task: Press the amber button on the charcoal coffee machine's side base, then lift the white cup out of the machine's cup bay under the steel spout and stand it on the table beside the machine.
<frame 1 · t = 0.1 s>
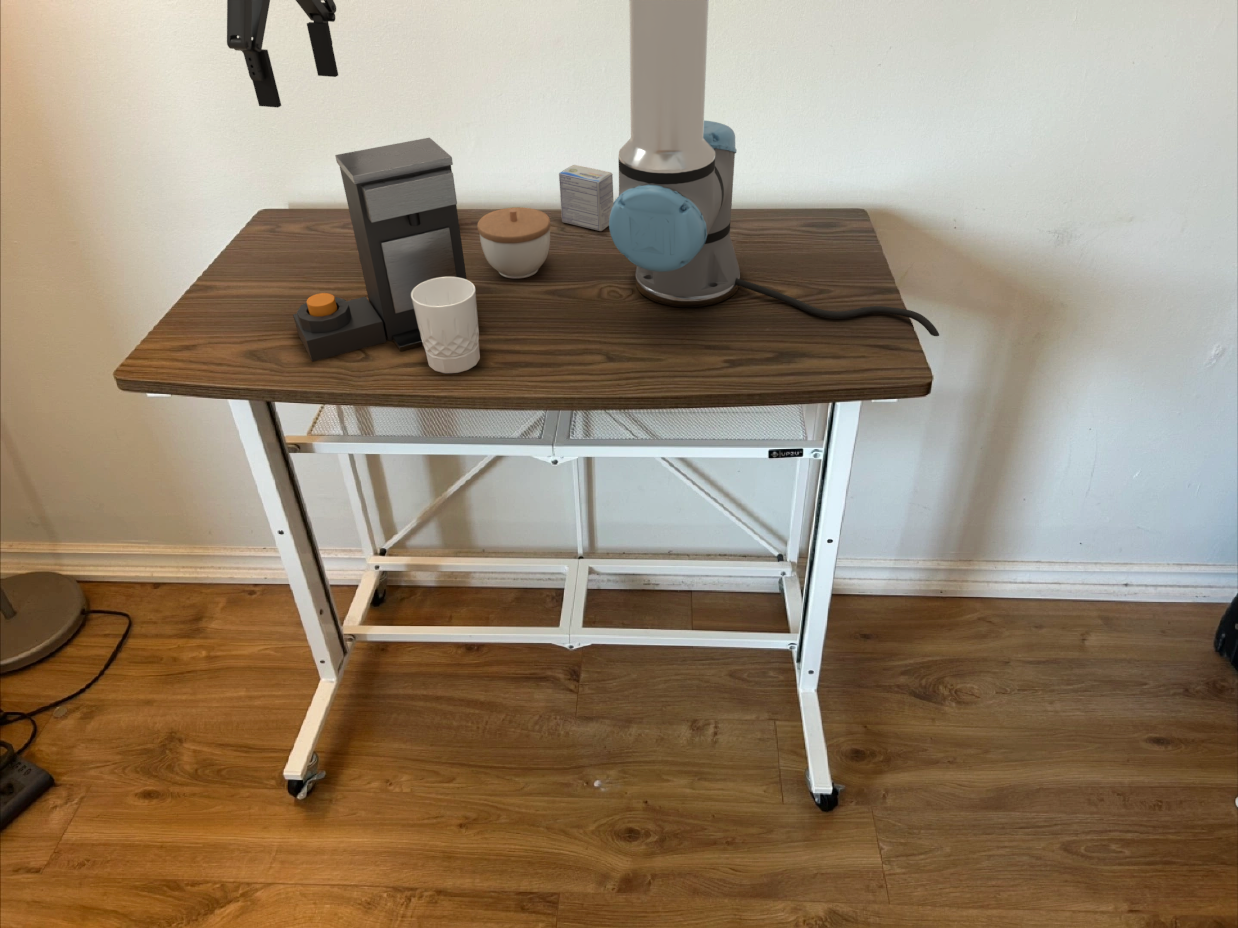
hand: (300, 90, 115), 28 cm above the table, tool pointing down, fingers open, 13 cm apart
coffee machine: (422, 317, 125), on the table
button base: (342, 338, 121), on the table
white cup: (454, 361, 116), on the table
medicine box: (588, 224, 149), on the table
trinket box: (518, 270, 136), on the table
start button: (322, 305, 117), point 5 cm above the table, slide at 0.1 cm
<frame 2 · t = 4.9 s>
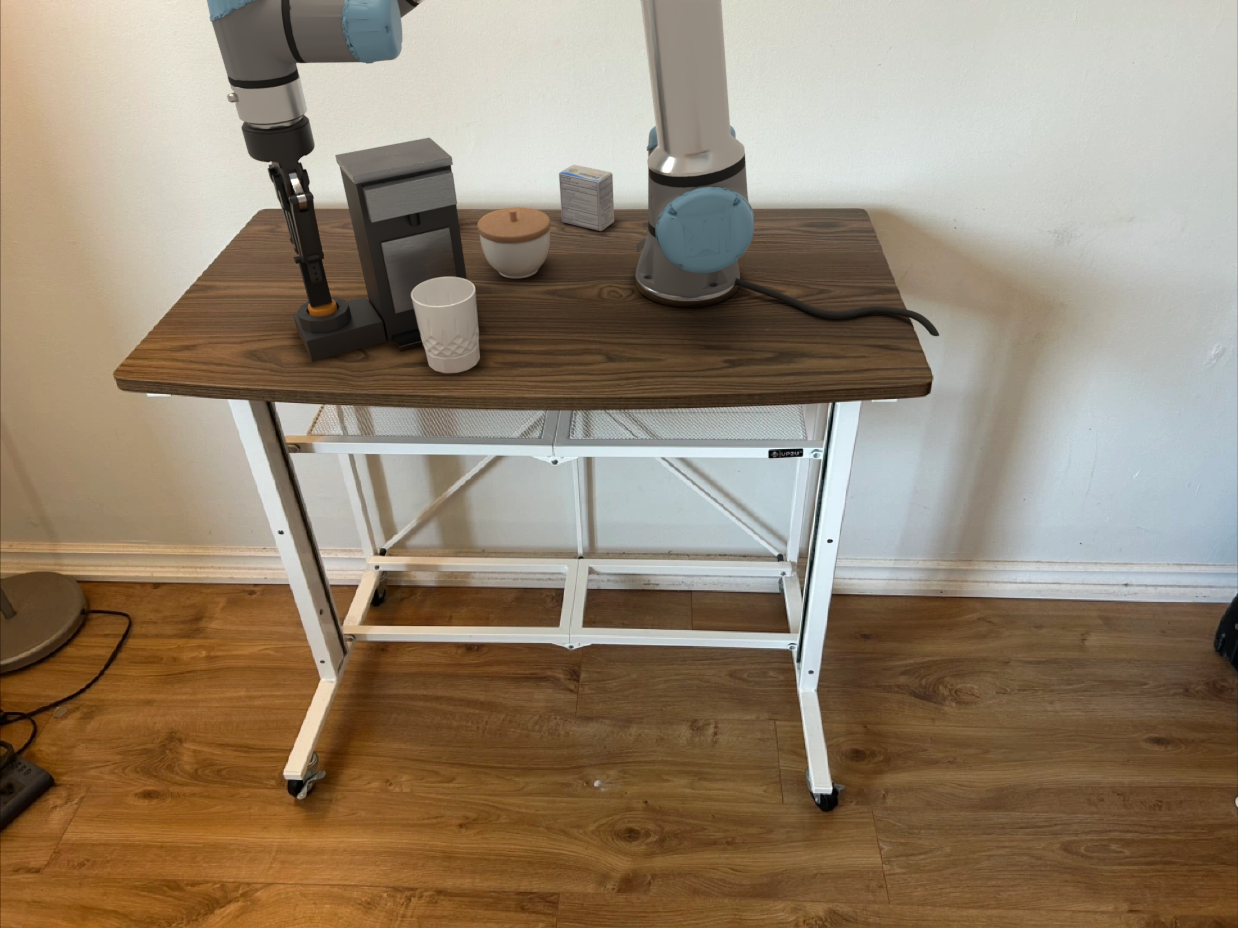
hand: (320, 302, 117), 6 cm above the table, tool pointing down, fingers closed
start button: (323, 310, 117), point 5 cm above the table, slide at -0.6 cm, touching gripper
everything else where it was.
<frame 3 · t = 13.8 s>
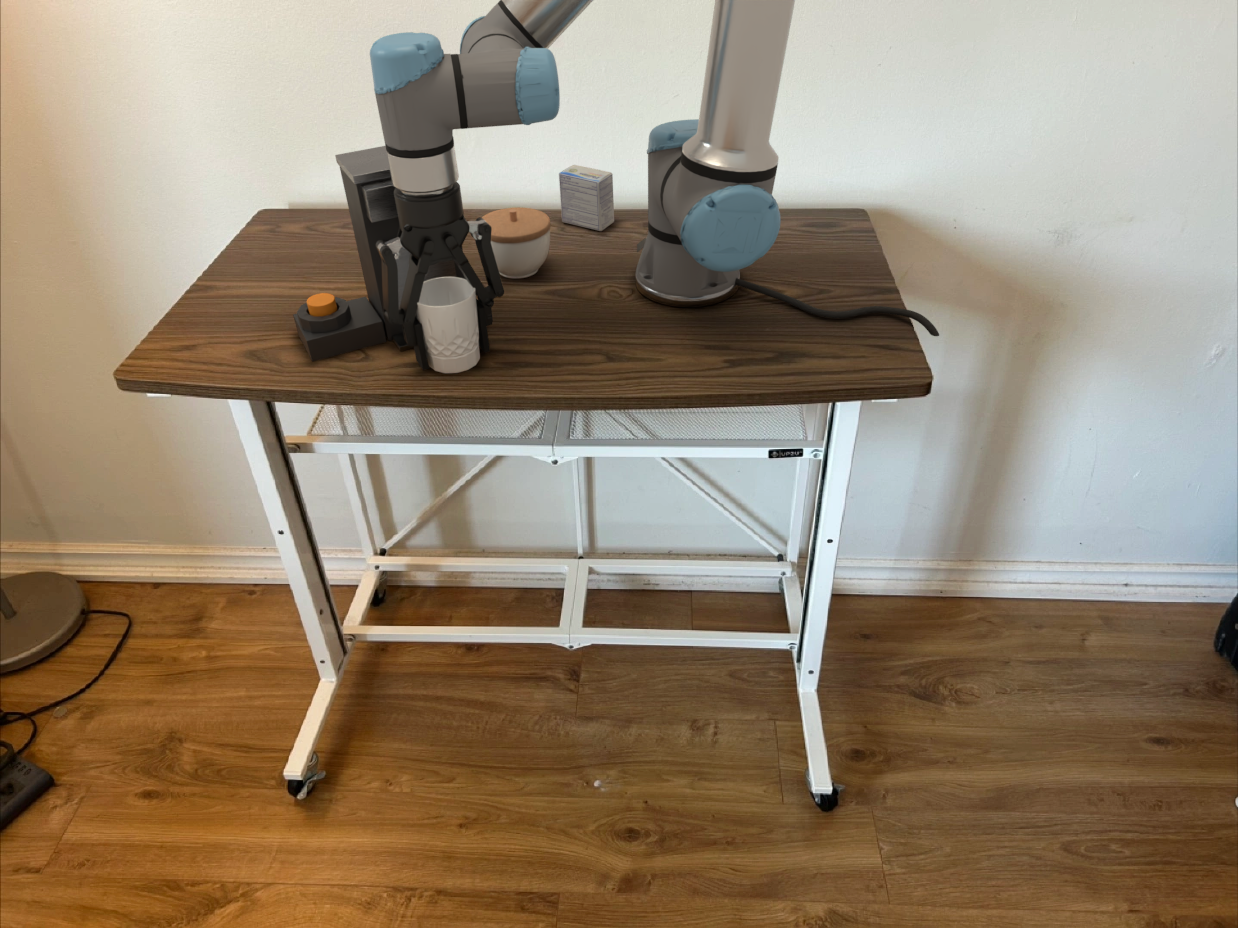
hand: (453, 355, 115), 1 cm above the table, tool pointing down, fingers closed on white cup, 8 cm apart
white cup: (454, 361, 116), on the table, touching gripper
start button: (322, 305, 117), point 5 cm above the table, slide at 0.1 cm
everything else where it was.
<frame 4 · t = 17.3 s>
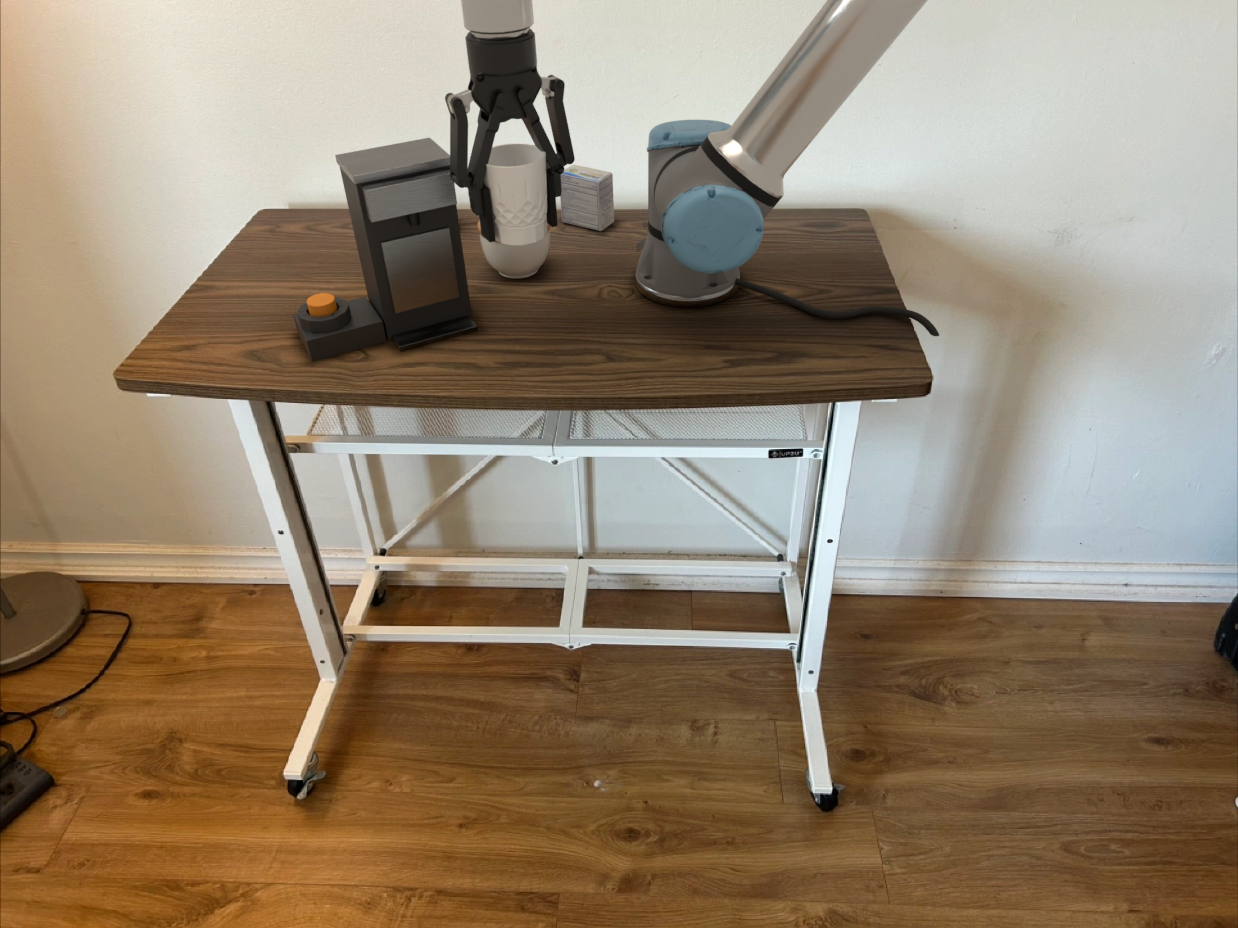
hand: (519, 229, 110), 16 cm above the table, tool pointing down, fingers closed on white cup, 8 cm apart
white cup: (520, 236, 111), point 15 cm above the table, touching gripper
everything else where it was.
when the fingers open (1 cm above the table, at t = 21.1 s): white cup stays where it is, on the table.
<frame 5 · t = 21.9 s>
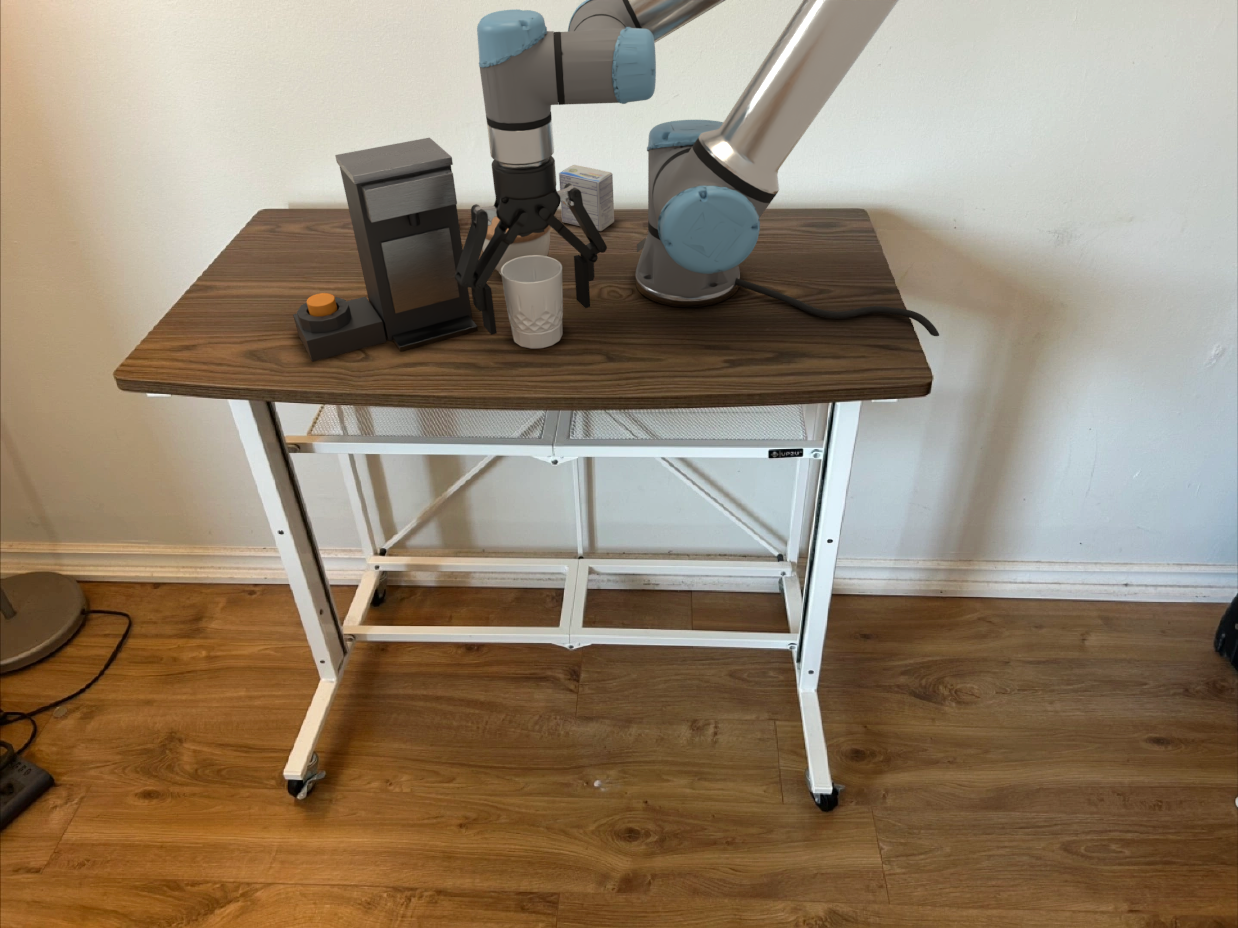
hand: (537, 316, 118), 3 cm above the table, tool pointing down, fingers open, 13 cm apart
white cup: (537, 337, 120), on the table
everything else where it was.
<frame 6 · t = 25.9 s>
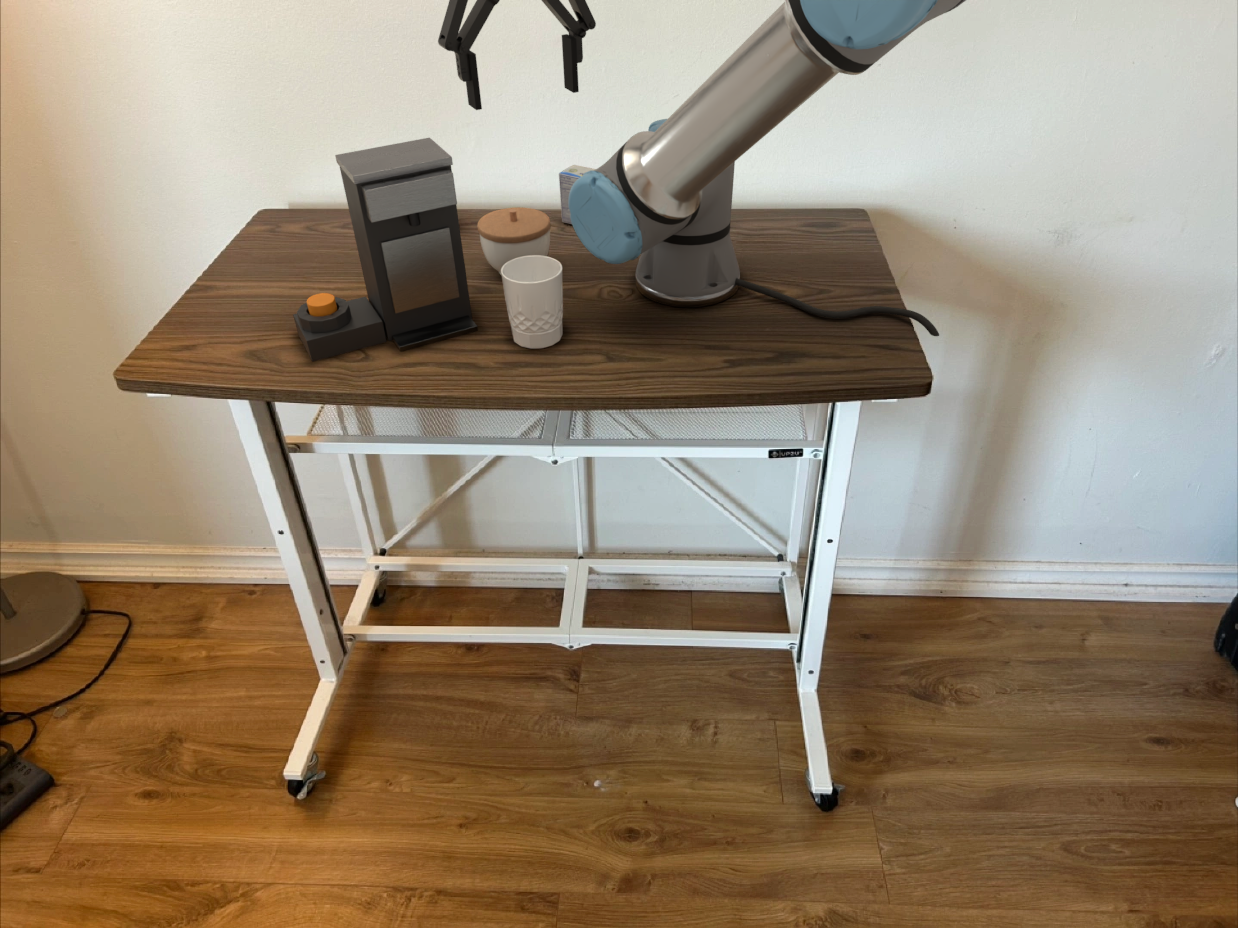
hand: (524, 98, 115), 27 cm above the table, tool pointing down, fingers open, 13 cm apart
nothing on the table moved.
at the end: start button pushed in 0.7 cm at the most during the clip, back to where it started at the end; white cup 0.1 cm from the target spot, on the table; white cup tilted 0° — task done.
